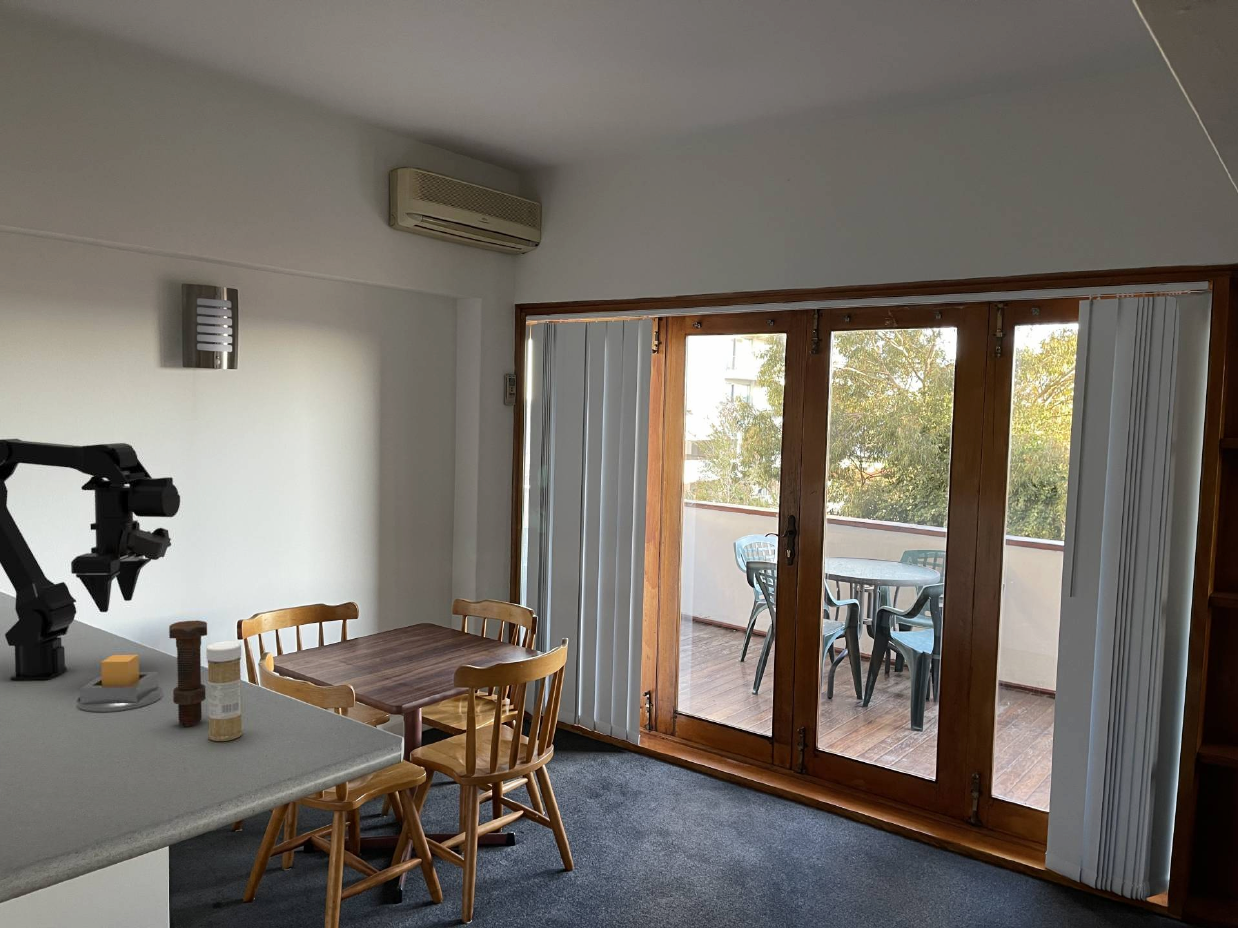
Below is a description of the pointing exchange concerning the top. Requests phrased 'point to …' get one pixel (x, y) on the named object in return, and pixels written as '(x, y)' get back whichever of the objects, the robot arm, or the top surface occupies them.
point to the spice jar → (224, 690)
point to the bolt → (189, 670)
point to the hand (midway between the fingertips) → (116, 606)
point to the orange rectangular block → (120, 670)
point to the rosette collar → (120, 694)
